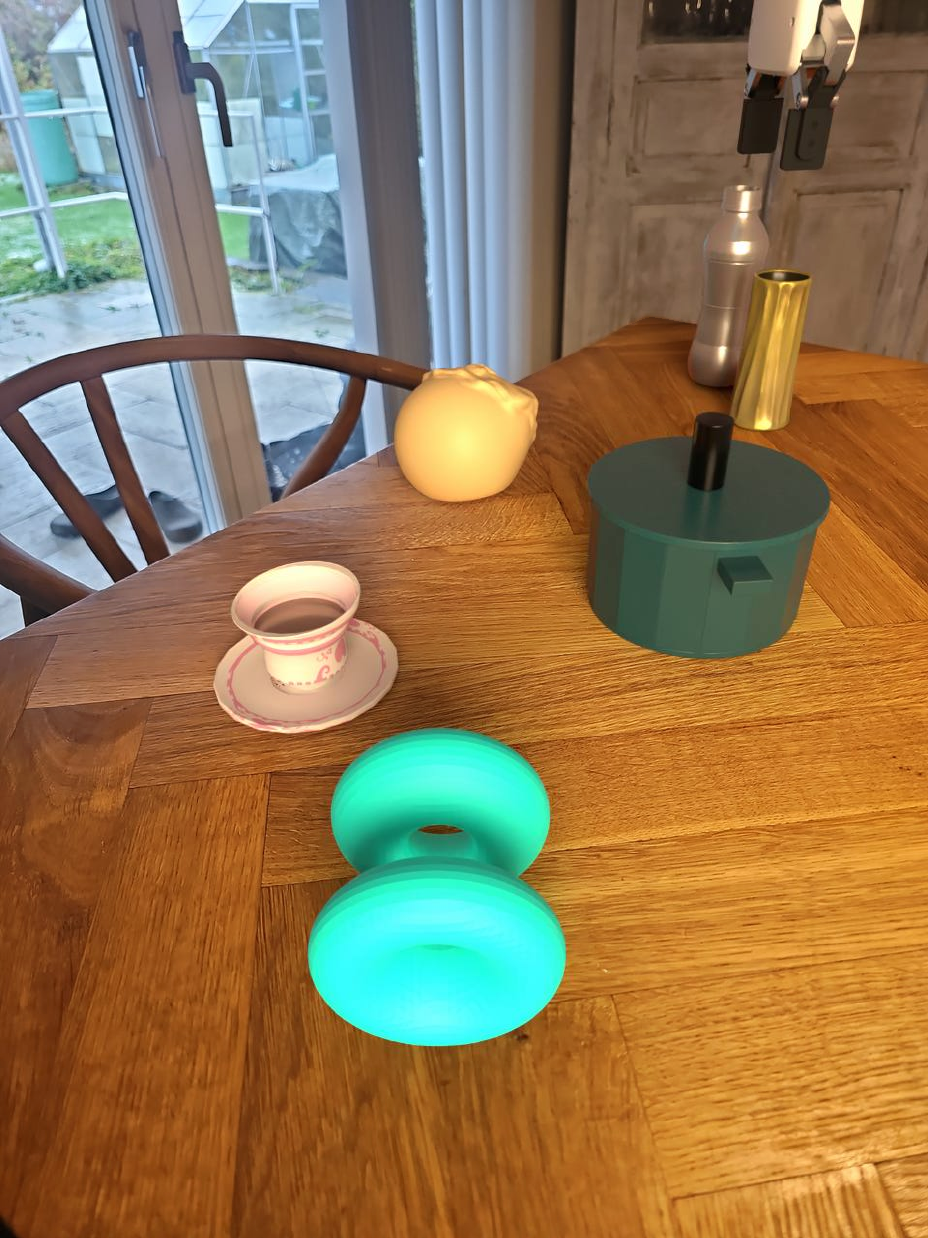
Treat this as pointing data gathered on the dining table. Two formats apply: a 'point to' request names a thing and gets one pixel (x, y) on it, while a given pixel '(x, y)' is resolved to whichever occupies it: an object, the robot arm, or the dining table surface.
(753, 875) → the dining table surface
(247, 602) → the teacup
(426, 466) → the sculpture
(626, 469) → the pot lid
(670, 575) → the pot
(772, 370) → the vase
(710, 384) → the plastic bottle
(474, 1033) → the turquoise spool
